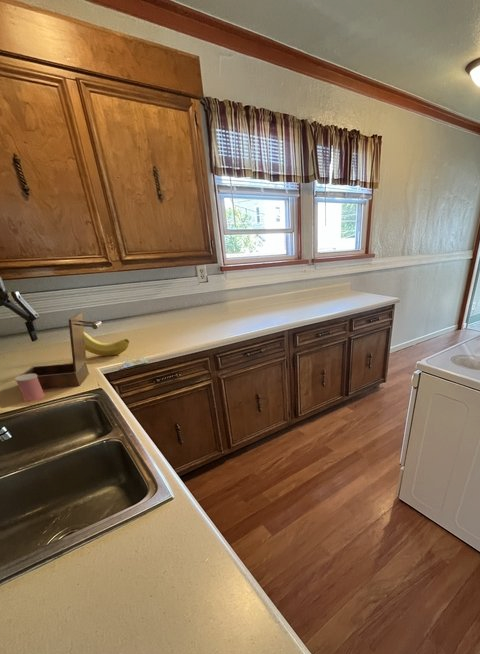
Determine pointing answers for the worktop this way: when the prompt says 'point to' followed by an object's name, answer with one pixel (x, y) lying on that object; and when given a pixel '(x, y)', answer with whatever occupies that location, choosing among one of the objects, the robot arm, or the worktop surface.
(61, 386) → the brown wooden box
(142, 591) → the worktop surface
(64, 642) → the worktop surface
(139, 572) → the worktop surface
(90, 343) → the banana
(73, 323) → the lid
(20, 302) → the robot arm
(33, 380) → the liner stack
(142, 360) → the baking ingredient package
